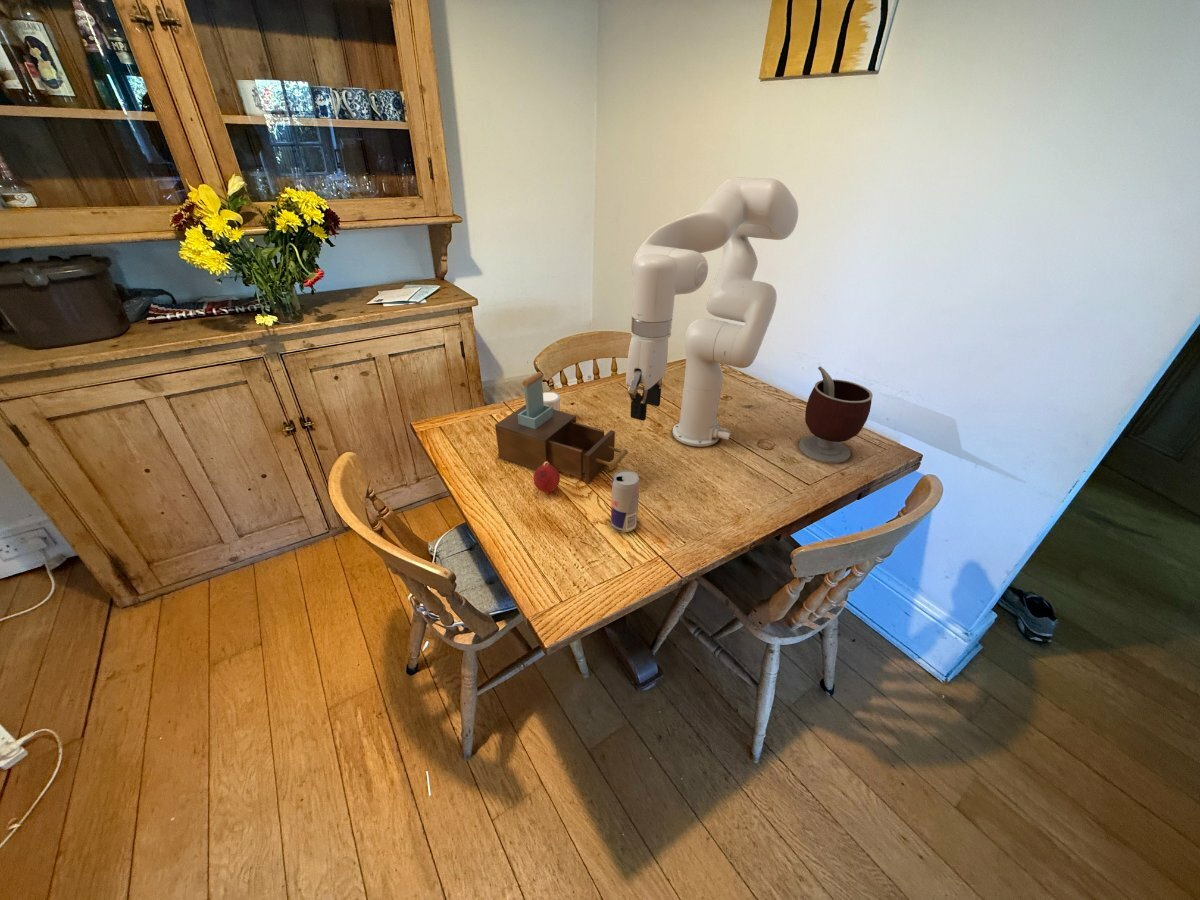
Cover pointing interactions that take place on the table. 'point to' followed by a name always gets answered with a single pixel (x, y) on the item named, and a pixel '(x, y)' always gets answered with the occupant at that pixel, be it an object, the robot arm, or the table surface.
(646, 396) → the robot arm
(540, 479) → the onion
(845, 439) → the mate gourd
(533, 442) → the cabinet
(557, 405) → the brown white round container
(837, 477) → the table surface
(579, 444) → the drawer
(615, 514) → the energy drink
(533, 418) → the caddy
